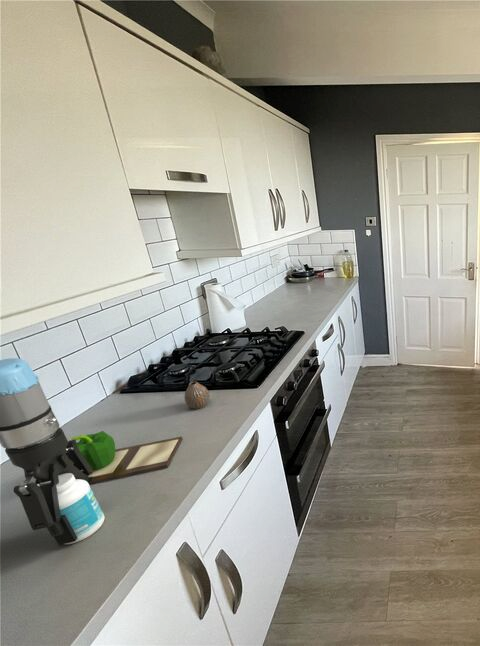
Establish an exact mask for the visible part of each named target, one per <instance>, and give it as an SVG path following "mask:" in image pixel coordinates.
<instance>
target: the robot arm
mask: <svg viewBox="0 0 480 646" xmlns="http://www.w3.org/2000/svg"><path fill="white" fill-rule="evenodd" d="M0 446H1V447H2V448H3V449H5V450H4V452H5V454H6V455H7V457H8V459H9V461H10V462H11V464H12V465H13V466H15V467H19V468H21V469H22V470H23V473H24V474H23V475H24V478H25V479H24V481H23V482H22V484H19V485H16V486H14V487H13V493H14V494H15V495H16V496H17V497H18V498H19V499H20V502H21V504H22V507H23V510H24V512H25V515H26V518H27V519H28V522H29V525H30V528H31V530H32V531H39V530H42V529H46V530H47V532H48V533H49V534H50V537H53V538H54V539H55V542H56V544H57V545H58V546H62V545H67V544H66V543H70V542H74V541H76V540H77V536H76V534H75V532H74V530H73V528H72V527H71V525H70V523H69V521H68V519H67V518H66V516H65V515H60V508H59V501H58V494H57V487H56V485H57V484H58V483H59V478H58V475H61V474H66V473H71V474H73V475H74V477H75V479H82V480H85V481H87V482H88V484H89V482H93V480H94V478H93V477H89V475H91V474H92V473H93V470H92V468H91V467H90V465H89V464H88V462H87V461H86V459H85V458H84V456H83V455H82V453H81V452H80V450H79V449H78V446H77V440H71V439H70V440H69V439H68V438H67V437H66V434H65V433H64V429H63V428H61V427H60V423H59V420H58V419H57V417H56V415H55V413H54V410H53V409H52V406H51V405H50V403H49V401H48V399H47V397H46V395H45V392H44V390H43V387H42V386H41V383H40V380H39V377H38V375H37V374H36V373H35V372H34V370H33V369H32V367H31V365H30V364H29V363H28V362H27V361H26V360H25V359H22V358H17V357H13V358H12V357H11V358H10V357H9V358H4V359H1V360H0ZM81 470H84V471H81ZM48 481H51V482H48ZM46 482H48V483H46ZM89 486H90V488H91V487H92V486H91V485H89ZM91 490H92V491H93V489H92V488H91Z"/></svg>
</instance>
